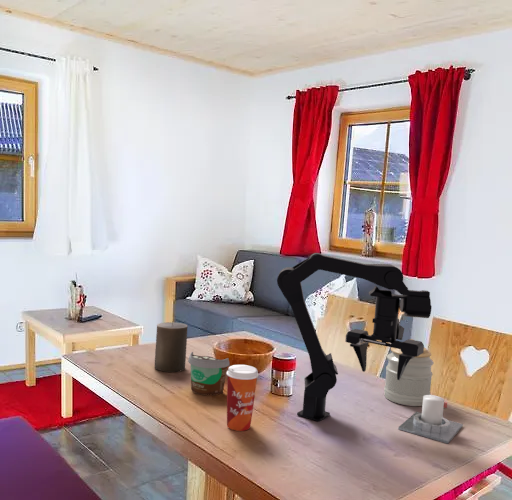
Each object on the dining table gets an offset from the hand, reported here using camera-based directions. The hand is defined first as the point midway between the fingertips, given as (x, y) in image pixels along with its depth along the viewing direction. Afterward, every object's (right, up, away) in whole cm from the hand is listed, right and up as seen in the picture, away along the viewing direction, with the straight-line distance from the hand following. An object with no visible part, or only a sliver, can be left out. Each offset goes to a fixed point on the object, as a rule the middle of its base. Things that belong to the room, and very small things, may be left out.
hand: (381, 375), depth 136 cm
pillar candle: (-59, -6, +34) cm, 68 cm away
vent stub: (+12, -12, -1) cm, 18 cm away
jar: (+12, -12, +20) cm, 26 cm away
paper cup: (-36, -10, -8) cm, 38 cm away
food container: (-46, -8, +13) cm, 49 cm away
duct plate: (+12, -13, -1) cm, 18 cm away
